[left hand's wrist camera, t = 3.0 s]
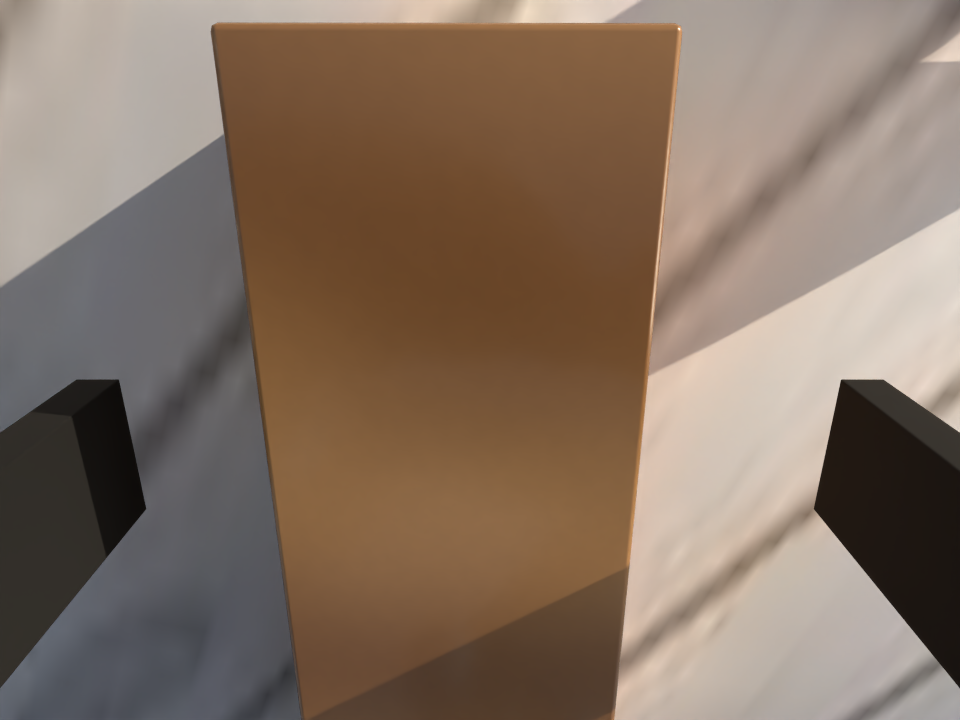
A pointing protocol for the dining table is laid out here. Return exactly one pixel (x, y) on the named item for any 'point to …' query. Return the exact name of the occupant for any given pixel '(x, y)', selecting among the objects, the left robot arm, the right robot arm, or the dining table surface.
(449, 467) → the beam
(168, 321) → the dining table surface
